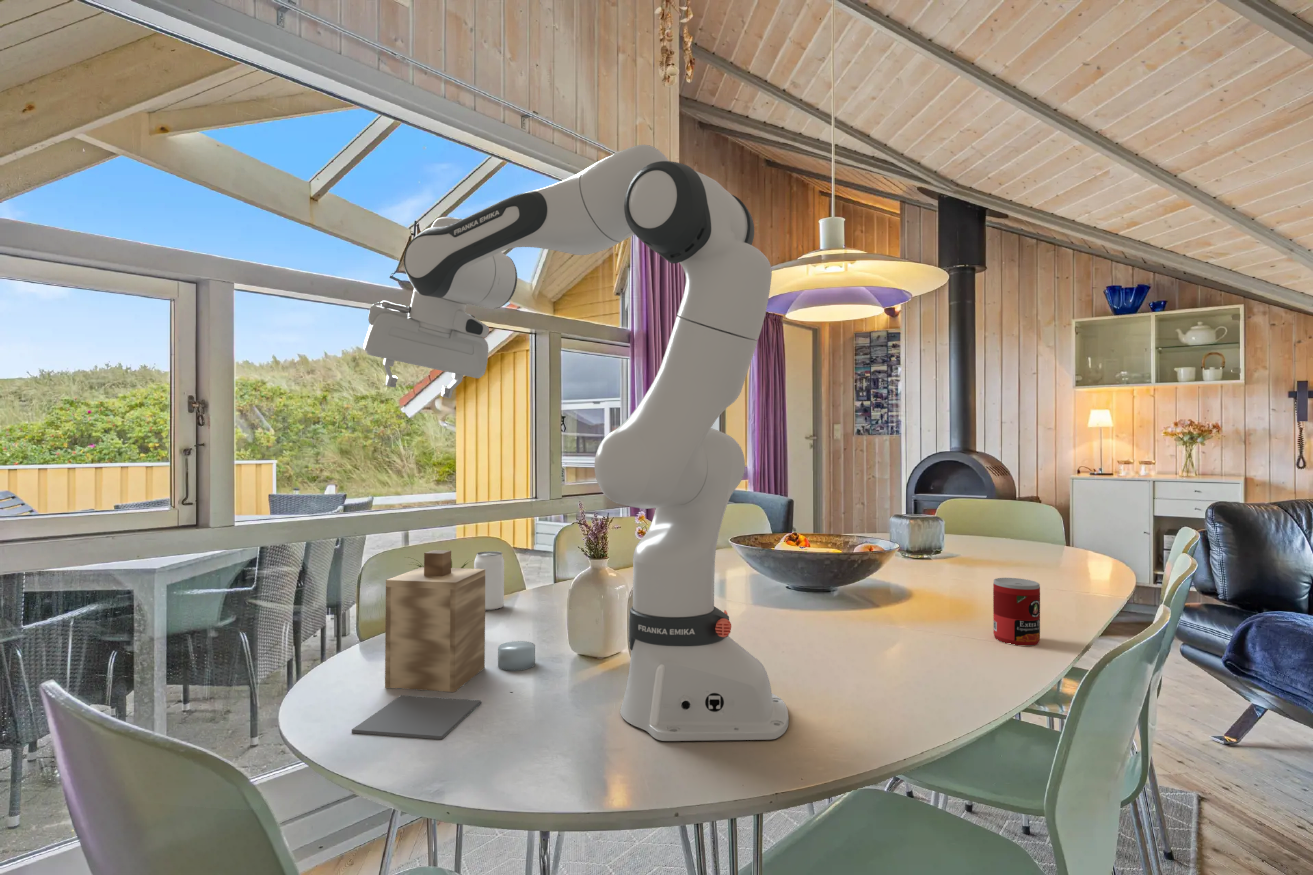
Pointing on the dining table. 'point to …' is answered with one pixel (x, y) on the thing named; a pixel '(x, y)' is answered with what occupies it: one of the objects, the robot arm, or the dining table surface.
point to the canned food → (1016, 611)
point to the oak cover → (435, 626)
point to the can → (492, 577)
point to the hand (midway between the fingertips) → (418, 391)
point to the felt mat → (418, 717)
